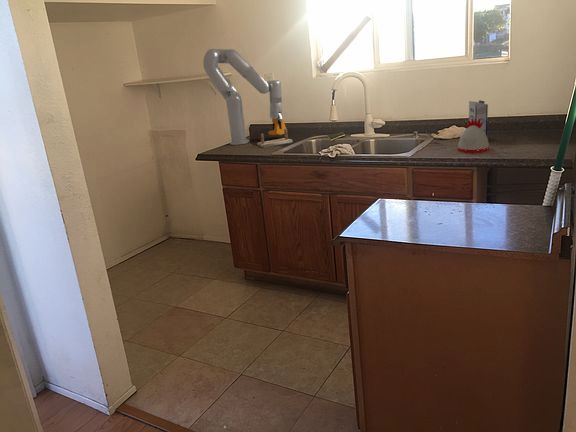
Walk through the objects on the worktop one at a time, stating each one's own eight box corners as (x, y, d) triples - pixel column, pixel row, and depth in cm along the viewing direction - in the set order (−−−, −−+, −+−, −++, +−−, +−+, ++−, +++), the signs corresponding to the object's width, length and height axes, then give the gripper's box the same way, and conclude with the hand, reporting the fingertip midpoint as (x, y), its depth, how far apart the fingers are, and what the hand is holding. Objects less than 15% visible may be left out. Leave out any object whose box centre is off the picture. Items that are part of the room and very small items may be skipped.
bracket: (277, 133, 321) (275, 115, 318) (286, 133, 317) (284, 114, 314) (268, 135, 313) (266, 116, 310) (277, 135, 309) (275, 116, 305)
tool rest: (257, 145, 301) (256, 133, 298) (285, 140, 308) (284, 128, 305) (264, 147, 292) (262, 134, 290) (292, 142, 299) (291, 129, 297)
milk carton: (468, 139, 258) (468, 100, 252) (480, 137, 258) (481, 99, 252) (474, 141, 251) (475, 101, 245) (486, 139, 252) (488, 100, 245)
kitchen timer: (481, 154, 225) (482, 121, 220) (453, 152, 234) (453, 120, 229) (493, 147, 234) (494, 116, 229) (465, 146, 243) (465, 115, 238)
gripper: (265, 100, 314) (266, 128, 320) (275, 102, 299) (277, 131, 305) (275, 99, 317) (277, 127, 323) (286, 101, 302) (288, 130, 308)
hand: (277, 129), depth 314 cm, fingers closed on bracket, 5 cm apart
